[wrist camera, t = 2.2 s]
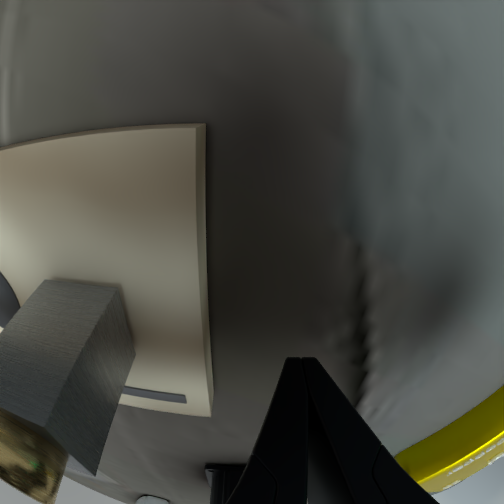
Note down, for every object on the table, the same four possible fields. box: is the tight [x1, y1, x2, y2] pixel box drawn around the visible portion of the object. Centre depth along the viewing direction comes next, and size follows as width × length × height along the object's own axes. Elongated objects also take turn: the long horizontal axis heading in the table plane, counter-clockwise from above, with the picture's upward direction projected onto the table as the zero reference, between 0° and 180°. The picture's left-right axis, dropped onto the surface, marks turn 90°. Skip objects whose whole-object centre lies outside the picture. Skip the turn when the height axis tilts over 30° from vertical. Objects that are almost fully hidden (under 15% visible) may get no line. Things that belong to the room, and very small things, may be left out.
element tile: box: [394, 385, 504, 492], centre depth 18 cm, size 15×15×5 cm
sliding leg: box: [0, 279, 136, 504], centre depth 6 cm, size 3×3×7 cm
